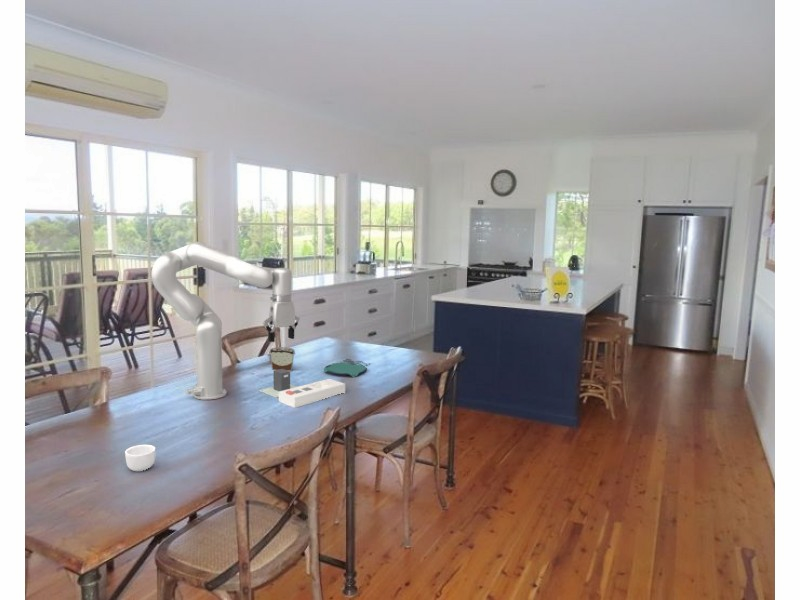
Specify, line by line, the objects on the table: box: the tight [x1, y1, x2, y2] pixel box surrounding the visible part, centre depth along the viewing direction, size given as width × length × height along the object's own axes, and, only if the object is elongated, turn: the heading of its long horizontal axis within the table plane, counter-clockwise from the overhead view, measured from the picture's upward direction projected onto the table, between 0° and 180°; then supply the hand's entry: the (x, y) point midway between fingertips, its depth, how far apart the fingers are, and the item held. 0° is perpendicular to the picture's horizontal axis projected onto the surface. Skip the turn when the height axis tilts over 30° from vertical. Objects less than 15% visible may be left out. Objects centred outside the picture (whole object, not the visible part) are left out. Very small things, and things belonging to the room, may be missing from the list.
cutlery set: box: [323, 358, 368, 378], centre depth 263 cm, size 20×30×2 cm, turn 162°
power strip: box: [278, 378, 346, 409], centre depth 220 cm, size 26×10×5 cm, turn 139°
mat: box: [259, 383, 297, 399], centre depth 227 cm, size 14×12×1 cm
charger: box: [273, 369, 291, 391], centre depth 226 cm, size 4×6×8 cm
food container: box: [269, 346, 296, 372], centre depth 259 cm, size 12×6×10 cm, turn 84°
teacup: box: [124, 444, 156, 472], centre depth 155 cm, size 10×8×5 cm
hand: (281, 339), depth 224 cm, fingers open, 9 cm apart
